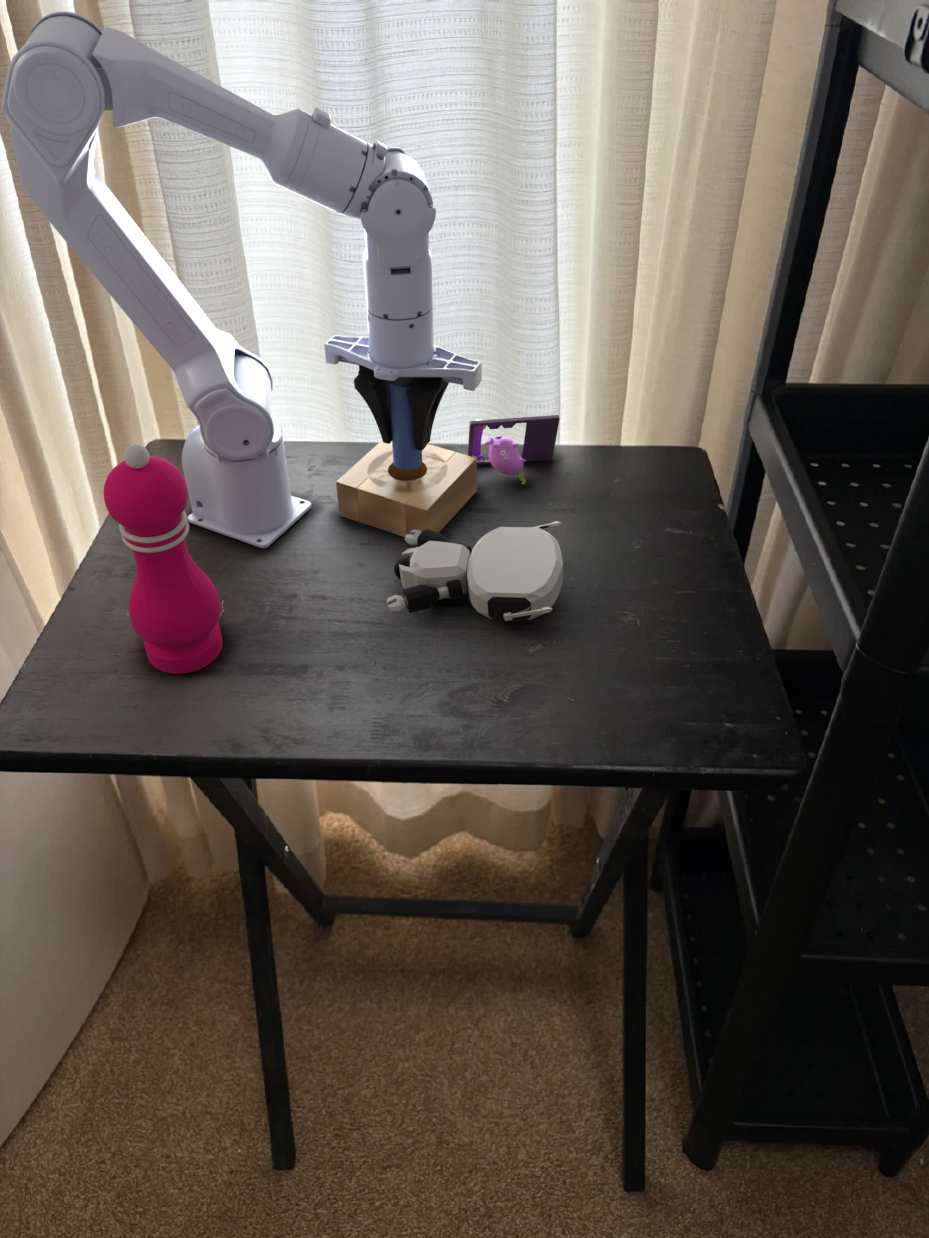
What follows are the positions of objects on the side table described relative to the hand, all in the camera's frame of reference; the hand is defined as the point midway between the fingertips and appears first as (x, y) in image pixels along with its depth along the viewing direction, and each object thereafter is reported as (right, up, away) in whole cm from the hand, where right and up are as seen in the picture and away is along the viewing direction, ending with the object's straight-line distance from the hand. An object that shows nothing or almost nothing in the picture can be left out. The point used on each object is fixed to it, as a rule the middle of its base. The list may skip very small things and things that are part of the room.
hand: (406, 441), depth 98 cm
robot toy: (+7, -15, -5) cm, 17 cm away
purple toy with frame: (+11, -2, +9) cm, 14 cm away
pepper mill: (-18, -20, -11) cm, 29 cm away
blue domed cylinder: (0, -2, +2) cm, 2 cm away
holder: (0, -5, +5) cm, 7 cm away
